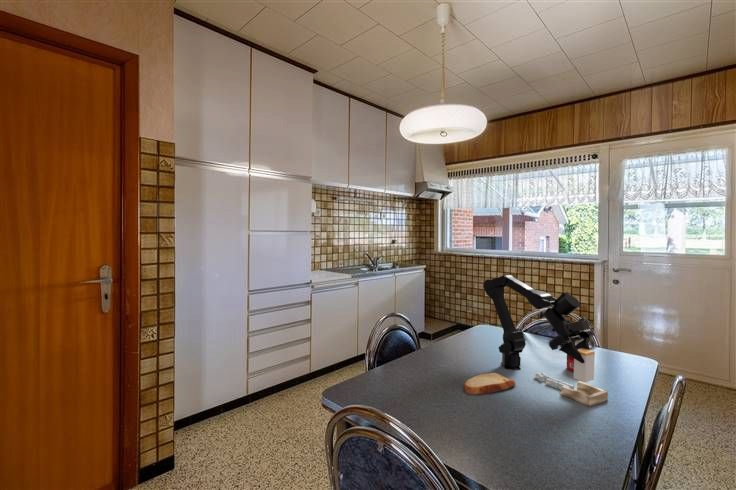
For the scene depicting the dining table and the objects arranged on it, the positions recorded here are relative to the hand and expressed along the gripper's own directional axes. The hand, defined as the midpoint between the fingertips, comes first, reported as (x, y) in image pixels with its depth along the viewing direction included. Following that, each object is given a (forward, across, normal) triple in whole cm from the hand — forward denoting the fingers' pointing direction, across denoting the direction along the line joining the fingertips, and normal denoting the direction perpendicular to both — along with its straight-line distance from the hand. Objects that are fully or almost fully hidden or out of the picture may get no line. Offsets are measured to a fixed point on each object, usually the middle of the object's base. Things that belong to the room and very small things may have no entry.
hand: (588, 361), depth 119 cm
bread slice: (-6, -23, +25) cm, 35 cm away
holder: (+8, 0, +10) cm, 13 cm away
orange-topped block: (+4, 0, +6) cm, 7 cm away
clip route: (0, 0, +18) cm, 18 cm away
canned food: (-3, +22, +22) cm, 31 cm away
